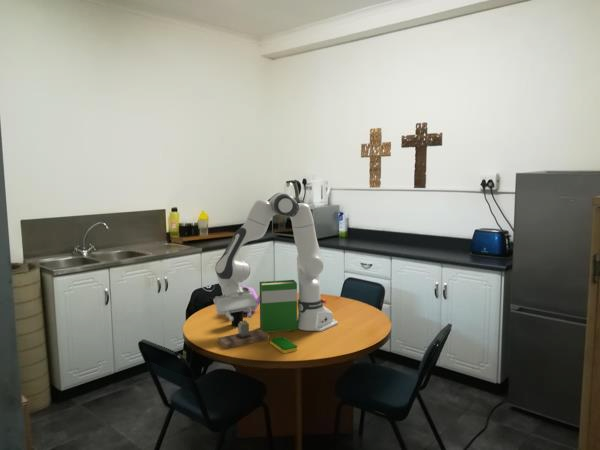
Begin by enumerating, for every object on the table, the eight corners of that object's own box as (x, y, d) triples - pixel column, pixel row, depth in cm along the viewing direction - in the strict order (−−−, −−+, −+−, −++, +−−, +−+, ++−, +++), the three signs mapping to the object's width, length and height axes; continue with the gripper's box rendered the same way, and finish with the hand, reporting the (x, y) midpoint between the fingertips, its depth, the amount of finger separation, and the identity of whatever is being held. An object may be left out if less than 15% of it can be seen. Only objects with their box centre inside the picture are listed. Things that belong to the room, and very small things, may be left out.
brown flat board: (260, 333, 227) (260, 328, 227) (268, 339, 219) (268, 334, 219) (218, 342, 215) (218, 337, 215) (226, 348, 208) (225, 343, 207)
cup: (230, 328, 235) (230, 305, 233) (228, 323, 242) (228, 300, 240) (245, 326, 237) (245, 304, 235) (243, 321, 244) (243, 299, 242)
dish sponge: (283, 341, 218) (282, 336, 218) (297, 351, 207) (297, 345, 206) (269, 343, 215) (269, 338, 214) (283, 354, 203) (283, 349, 203)
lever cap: (246, 335, 220) (245, 319, 218) (248, 337, 217) (248, 321, 216) (238, 337, 217) (238, 321, 216) (241, 339, 215) (240, 323, 214)
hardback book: (262, 332, 228) (261, 285, 225) (260, 327, 235) (259, 281, 232) (297, 329, 232) (296, 283, 229) (293, 324, 239) (293, 279, 236)
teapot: (263, 318, 249) (263, 291, 247) (226, 318, 250) (226, 291, 248) (266, 307, 269) (266, 282, 267) (232, 307, 269) (232, 282, 267)
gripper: (214, 293, 219) (222, 319, 212) (252, 287, 230) (261, 311, 223) (210, 300, 223) (218, 325, 216) (248, 294, 234) (257, 318, 227)
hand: (241, 318), depth 220 cm, fingers open, 8 cm apart
